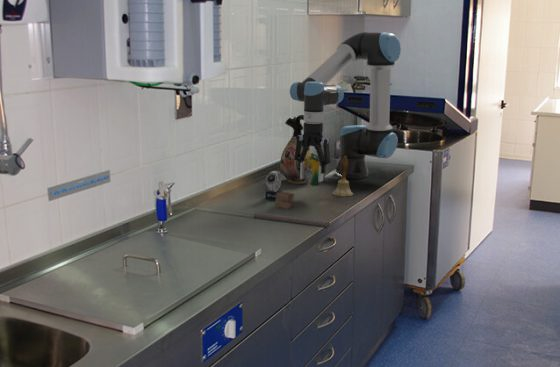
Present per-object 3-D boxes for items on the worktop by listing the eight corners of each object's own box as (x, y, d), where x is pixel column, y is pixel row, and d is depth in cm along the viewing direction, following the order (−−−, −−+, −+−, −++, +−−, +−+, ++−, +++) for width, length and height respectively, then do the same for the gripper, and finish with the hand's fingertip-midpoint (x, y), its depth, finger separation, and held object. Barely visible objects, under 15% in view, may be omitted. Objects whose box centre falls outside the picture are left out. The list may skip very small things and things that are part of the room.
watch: (263, 199, 259) (263, 172, 257) (272, 195, 266) (272, 168, 264) (275, 201, 257) (276, 174, 254) (284, 197, 264) (285, 170, 261)
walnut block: (282, 203, 255) (282, 191, 253) (293, 205, 252) (294, 193, 251) (275, 206, 250) (275, 194, 249) (286, 208, 248) (287, 196, 247)
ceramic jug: (272, 181, 289) (273, 113, 282) (294, 176, 301) (296, 110, 294) (302, 188, 279) (304, 117, 272) (324, 182, 290) (327, 114, 283)
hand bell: (341, 190, 277) (343, 153, 273) (357, 194, 271) (359, 156, 268) (328, 193, 271) (330, 155, 268) (344, 197, 266) (346, 158, 262)
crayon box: (303, 181, 264) (304, 153, 261) (310, 181, 265) (311, 152, 262) (312, 186, 257) (313, 157, 254) (319, 185, 259) (320, 156, 256)
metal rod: (256, 217, 238) (256, 211, 237) (328, 226, 228) (328, 221, 228) (254, 218, 236) (254, 213, 235) (327, 228, 227) (327, 222, 226)
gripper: (285, 120, 257) (284, 178, 263) (332, 126, 247) (330, 185, 253) (295, 118, 263) (294, 174, 269) (341, 123, 253) (339, 181, 259)
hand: (311, 179), depth 261 cm, fingers closed on crayon box, 7 cm apart
